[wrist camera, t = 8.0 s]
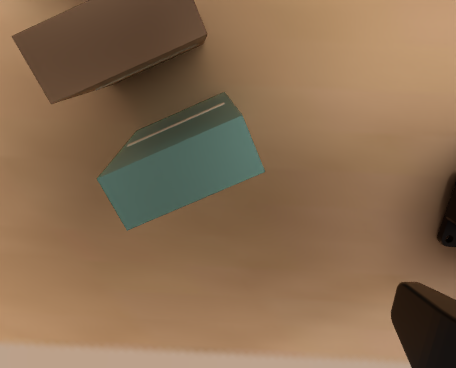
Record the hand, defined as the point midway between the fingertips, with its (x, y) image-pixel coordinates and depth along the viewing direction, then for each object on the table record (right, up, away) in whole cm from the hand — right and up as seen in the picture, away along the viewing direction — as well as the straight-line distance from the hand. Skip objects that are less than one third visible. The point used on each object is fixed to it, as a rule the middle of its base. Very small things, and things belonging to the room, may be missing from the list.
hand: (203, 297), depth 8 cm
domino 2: (-2, +5, +11) cm, 12 cm away
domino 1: (-3, +9, +10) cm, 14 cm away
